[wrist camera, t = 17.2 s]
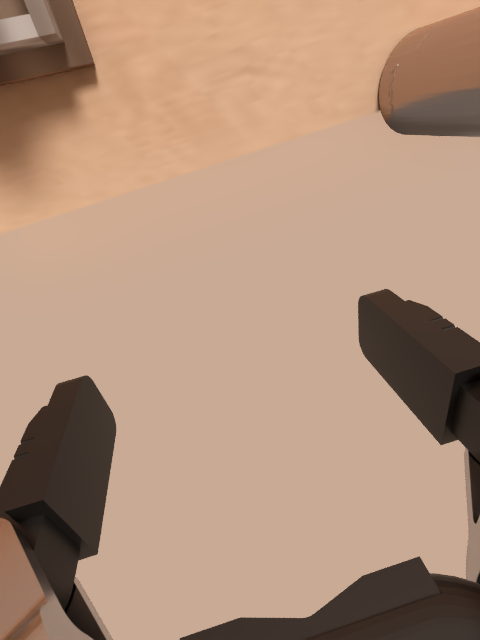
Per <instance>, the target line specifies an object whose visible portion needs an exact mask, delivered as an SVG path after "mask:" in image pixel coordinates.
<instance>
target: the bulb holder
mask: <svg viewBox="0 0 480 640" xmlns="http://www.w3.org/2000/svg"><path fill="white" fill-rule="evenodd" d="M93 65H95V64H94V61H93V58H92V55H91V53H90V50H89V47H88V44H87V41H86V38H85V35H84V32H83V30H82V27H81V24H80V21H79V18H78V15H77V12H76V10H75V7H74V4H73V1H72V0H0V85H5V84H9V83H14V82H19V81H23V80H28V79H33V78H37V77H42V76H47V75H51V74H56V73H61V72H65V71H70V70H75V69H79V68H84V67H89V66H93Z"/></svg>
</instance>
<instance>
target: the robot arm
mask: <svg viewBox="0 0 480 640" xmlns="http://www.w3.org/2000/svg"><path fill="white" fill-rule="evenodd" d="M379 105H380V109H381V113H382V116H383V118H384V120H385V122H386V123H387V124H388V126H389V127H390V128H391V129H393V130H394V131H396V132H397V133H401V134H406V135H432V136H433V135H434V136H468V137H480V7H478V8H475V9H473V10H470V11H467V12H464V13H461V14H459V15H456V16H453V17H449V18H447V19H444V20H441V21H438V22H436V23H433V24H430V25H427V26H424V27H422V28H419V29H417V30H415V31H413V32H411V33H410V34H408V35H407V36H406V37H405V38H403V39H402V40H401V41H400V43H399V44H398V45H397V46H396V47H395V48H394V50H393V52H392V53H391V55H390V57H389V58H388V60H387V63H386V65H385V67H384V70H383V73H382V77H381V81H380V88H379ZM358 313H359V316H358V319H359V343H360V347H361V349H362V352H363V354H364V355H365V357H366V358H367V360H368V361H369V362H370V363H371V364H372V365H373V367H374V368H375V369H376V370H377V371H378V372H379V374H380V375H381V376H382V377H383V378H384V379H385V381H386V382H387V383H388V384H389V385H390V386H391V388H393V390H394V391H395V392H396V393H397V394H398V396H399V397H400V398H401V399H402V400H403V402H404V403H405V404H406V405H407V406H408V407H409V409H410V410H411V411H412V412H413V413H414V414H415V415H416V416H417V418H418V419H419V420H420V421H421V422H422V424H423V425H424V426H425V427H426V428H427V429H428V431H429V432H430V433H431V434H432V435H433V436H434V438H435V439H436V440H437V441H438V442H439V443H440V445H443V444H446V443H449V442H452V441H455V440H459V441H460V442H461V443H462V444H463V445H464V446H465V447H466V449H465V453H464V460H465V477H466V493H467V511H468V528H469V536H468V538H469V539H468V547H467V557H466V579H462V578H459V577H455V576H448V575H441V574H430V573H429V572H428V570H427V568H426V567H425V565H424V563H423V562H422V560H421V558H420V557H417V558H414V559H411V560H408V561H405V562H402V563H399V564H396V565H393V566H390V567H387V568H384V569H381V570H379V571H375V572H373V573H370V574H367V575H364V576H362V577H361V578H359V579H358V580H357V581H356V582H354V583H353V584H352V585H350V586H349V587H348V588H347V589H345V590H344V591H343V592H341V593H340V594H339V595H338V596H336V597H335V598H334V599H333V600H331V601H330V602H329V603H328V604H326V605H325V606H324V607H322V608H321V609H320V610H319V611H317V612H316V613H315V614H313V615H312V616H310V617H307V618H238V619H235V620H233V621H229V622H226V623H223V624H221V625H218V626H215V627H212V628H209V629H206V630H203V631H200V632H197V633H194V634H191V635H189V636H186V637H183V638H180V640H480V342H478V341H477V340H475V339H474V338H472V337H471V336H469V335H468V334H467V333H465V332H464V331H462V330H461V329H460V328H458V327H457V328H455V326H454V324H452V323H451V322H449V321H448V320H447V319H443V318H442V316H441V315H439V314H438V313H436V312H435V311H434V310H432V309H431V308H429V307H428V306H425V305H422V304H419V303H416V302H413V301H410V300H408V301H404V300H402V299H401V298H400V297H398V296H397V295H396V294H394V293H393V292H392V291H390V290H388V289H384V290H381V291H378V292H374V293H370V294H367V295H364V296H361V297H360V299H359V302H358ZM115 436H116V423H115V419H114V416H113V413H112V411H111V409H110V408H109V406H108V405H107V403H106V401H105V400H104V398H103V397H102V395H101V393H100V392H99V390H98V388H97V387H96V385H95V384H94V382H93V380H92V379H91V378H90V377H89V376H82V377H79V378H76V379H72V380H68V381H65V382H62V383H59V384H57V385H56V387H55V389H54V392H53V394H52V396H51V399H50V401H49V404H48V406H44V407H42V408H41V410H40V411H39V412H38V413H37V414H36V415H35V417H34V418H33V419H32V420H31V422H30V423H29V424H28V426H27V428H26V430H25V433H24V435H23V437H22V439H21V445H19V446H18V448H17V451H16V453H15V455H14V458H15V459H14V460H12V462H11V464H10V466H9V468H8V471H7V473H6V475H5V477H4V480H3V482H2V484H1V486H0V640H113V639H112V637H111V635H110V634H109V632H108V630H107V628H106V627H105V625H104V624H103V622H102V620H101V618H100V616H99V615H98V613H97V611H96V609H95V608H94V606H93V604H92V602H91V601H90V599H89V597H88V596H87V594H86V592H85V590H84V589H83V587H82V585H81V584H80V582H79V580H78V579H77V578H76V577H75V574H76V568H77V563H78V560H81V559H84V558H87V557H90V556H93V555H96V554H98V547H99V541H100V535H101V528H102V521H103V515H104V508H105V502H106V495H107V489H108V482H109V475H110V469H111V462H112V456H113V449H114V443H115Z"/></svg>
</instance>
